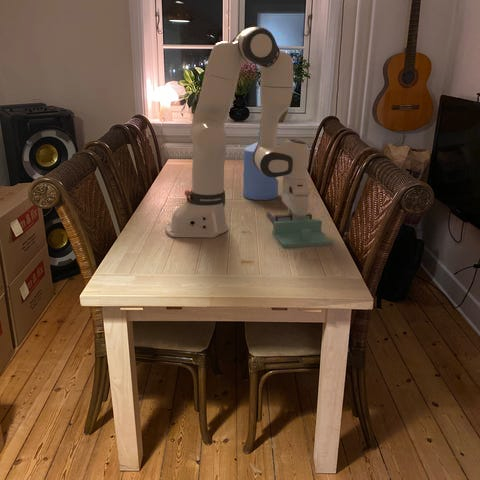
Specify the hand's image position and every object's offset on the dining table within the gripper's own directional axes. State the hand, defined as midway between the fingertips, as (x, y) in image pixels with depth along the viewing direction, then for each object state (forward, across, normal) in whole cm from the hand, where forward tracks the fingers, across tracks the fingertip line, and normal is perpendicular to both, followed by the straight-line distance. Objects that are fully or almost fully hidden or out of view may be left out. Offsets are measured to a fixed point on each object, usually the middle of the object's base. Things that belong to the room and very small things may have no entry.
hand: (292, 220), depth 188 cm
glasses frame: (+2, -5, 0) cm, 6 cm away
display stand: (+2, +15, -2) cm, 15 cm away
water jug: (+2, -40, -2) cm, 40 cm away
